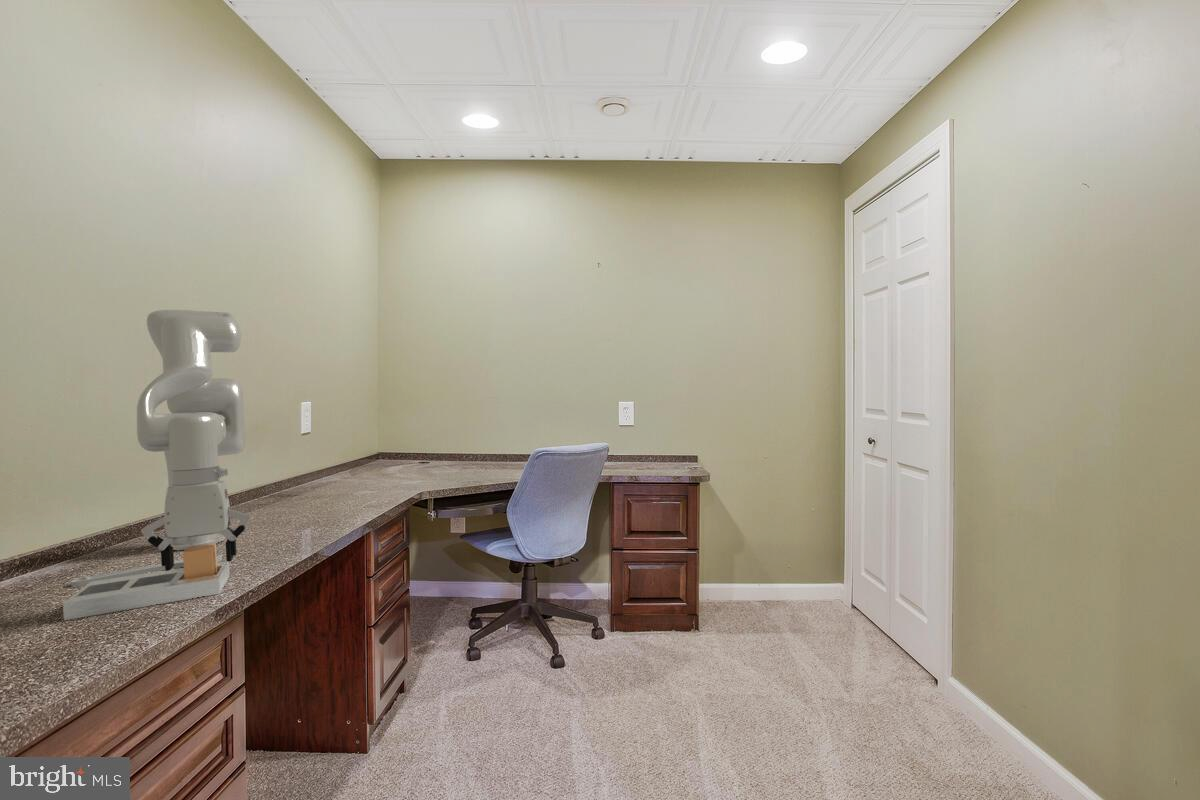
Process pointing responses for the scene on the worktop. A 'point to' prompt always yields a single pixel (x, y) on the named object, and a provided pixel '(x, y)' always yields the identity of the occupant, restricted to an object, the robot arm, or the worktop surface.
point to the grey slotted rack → (128, 572)
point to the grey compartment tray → (142, 591)
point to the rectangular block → (200, 561)
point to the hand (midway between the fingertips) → (200, 564)
